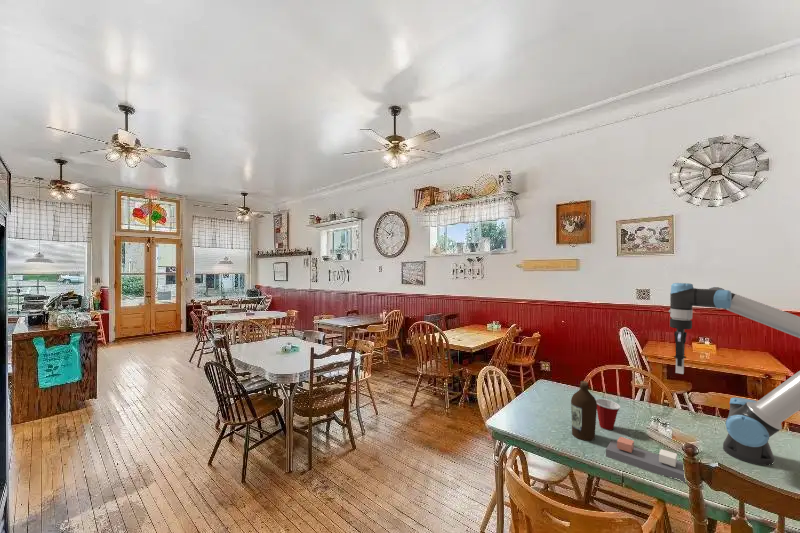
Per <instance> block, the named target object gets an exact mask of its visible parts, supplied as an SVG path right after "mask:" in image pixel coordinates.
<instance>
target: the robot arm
mask: <svg viewBox="0 0 800 533" xmlns="http://www.w3.org/2000/svg"><path fill="white" fill-rule="evenodd" d="M669 294H670V296H669V297H670V299H669V300H670V302H669V303H670V307H669V308H670V309H669V310H668V313H669V315H670V319H669V327H671V328H673V329H676V330H675V331H674V333H673V334H674V342H675V355H673V358H674V359H675V372H674V373H675V374H680V375H684V373H685V359H686V358H687V356H685V350H686V349H685V346H686V344H685V343H686V342H687V341H686V340H687V335H688V333H687V332H686V331H685V330H692V329H693V321H692V320H693V307H702V308H703V307H704V308H713V309H714V308H715V309H718V310H721V309H724V310H727V311H729V312H731V313H733V314H736V315H739V316H741V317H745V318H747V319H749V320H752V321H754V322H757V323H760V324H762V325H765V326H768V327H770V328H773V329H775V330H778V331H780V332H783V333H785V334H788V335H790V336H793V337H796V338H798V339H800V316H798V315H796V314H793V313H790V312H787V311H785V310H782V309H779V308H777V307H774V306H770V305H768V304H764V303H762V302H759V301H757V300H753V299H751V298H748V297H745V296H742V295H740V294H737V293H734V292H732V291H731V290H728V289H724V288H722V287H719V286H713V287H709V288H696V287H694V284H692V283H687V282H673V283H672V284H671V285H670V293H669ZM728 403H729V412H728V416H727V418H726V420H725V427H726V431H727V436H726V437H725V439H724V441H723V444H722V449H723V451H724V453H726V454H728V455H729V456H731V457H734V458H735V459H737V460H739V461H742V462H746V463H750V464H753V463H754V465H758V466H770V465H769V464H772V463H773V462H774V463H775V456H774V454H773V451H772V449H771V444H770V443H769V440H770V437H772V436H773V435H775V434H777V433H778V432H779V431H781V430H782V429H783V426H782V423H783V422H784V421H785V420H787V419H789V418H790V417H791V416H793V415H794V414H796V413H798V412H799V411H800V370H799V371H797V372H796V373H794V374H793V375H791V376H790V377H789V378H787V379H786V380H785V381H784V382H782V383H780V384H778V386H777V387H775V388H774V389H772V390H771V391H769V392H767V394H765V395H764V396H763V397H761V398H760V399H759V400H757V401H756V400H754V399H750V398H744V397H737V396H736V397H730V399H729V402H728ZM772 465H773V464H772Z"/></svg>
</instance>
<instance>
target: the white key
mask: <svg viewBox="0 0 800 533" xmlns="http://www.w3.org/2000/svg"><path fill="white" fill-rule="evenodd" d="M658 455H659V462H661V463H664V464H668V465H671V466H674V467H675V466H676V462H677V461H678V460H677V459H678V453H676V452H673V451H668V450H666V449H662V448H660V450H659V453H658Z"/></svg>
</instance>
